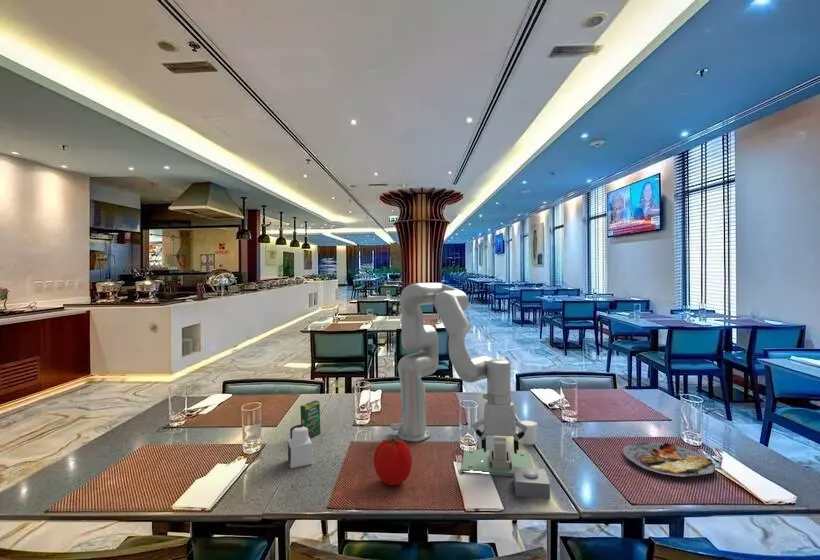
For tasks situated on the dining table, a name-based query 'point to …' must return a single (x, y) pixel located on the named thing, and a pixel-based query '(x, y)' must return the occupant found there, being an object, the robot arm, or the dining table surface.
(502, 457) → the plug
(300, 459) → the medicine bottle
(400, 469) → the tomato
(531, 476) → the grey push button box
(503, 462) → the socket
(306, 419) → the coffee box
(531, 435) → the gray cup
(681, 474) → the food plate
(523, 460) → the board
